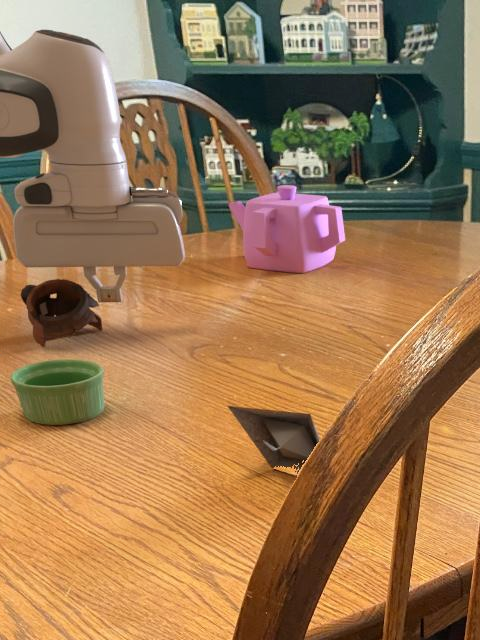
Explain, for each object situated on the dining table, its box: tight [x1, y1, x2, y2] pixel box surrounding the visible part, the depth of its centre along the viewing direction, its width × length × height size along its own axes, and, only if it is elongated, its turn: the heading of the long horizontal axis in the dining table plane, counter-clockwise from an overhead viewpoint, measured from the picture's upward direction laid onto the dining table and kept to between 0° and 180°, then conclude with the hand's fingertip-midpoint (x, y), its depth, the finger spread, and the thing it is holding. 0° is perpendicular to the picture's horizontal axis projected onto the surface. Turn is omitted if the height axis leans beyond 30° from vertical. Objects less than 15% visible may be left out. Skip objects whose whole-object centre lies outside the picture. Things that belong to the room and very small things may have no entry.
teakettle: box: [227, 184, 346, 274], centre depth 154 cm, size 17×17×12 cm
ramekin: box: [9, 358, 106, 426], centre depth 95 cm, size 9×9×4 cm
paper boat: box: [227, 405, 321, 477], centre depth 83 cm, size 12×6×9 cm
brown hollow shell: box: [20, 278, 103, 348], centre depth 117 cm, size 12×10×8 cm
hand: (110, 301), depth 119 cm, fingers closed
